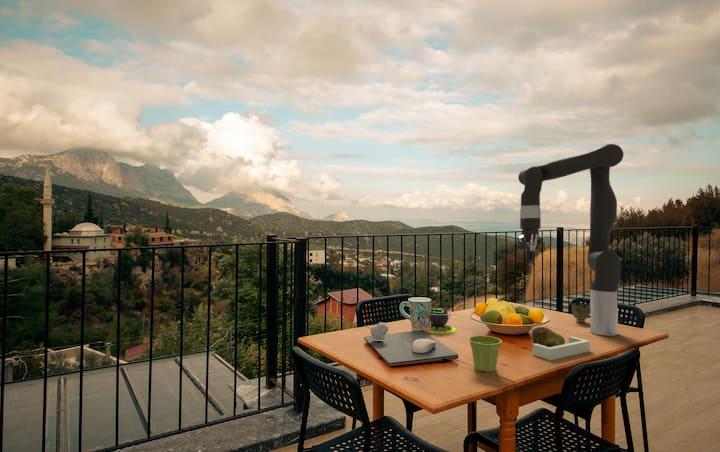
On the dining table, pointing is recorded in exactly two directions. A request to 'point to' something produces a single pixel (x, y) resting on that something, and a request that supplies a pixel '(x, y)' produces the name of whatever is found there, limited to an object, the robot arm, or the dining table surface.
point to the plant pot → (485, 352)
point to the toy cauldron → (440, 321)
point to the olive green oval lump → (546, 337)
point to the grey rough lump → (379, 331)
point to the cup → (580, 312)
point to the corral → (562, 349)
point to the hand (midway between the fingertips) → (530, 260)
